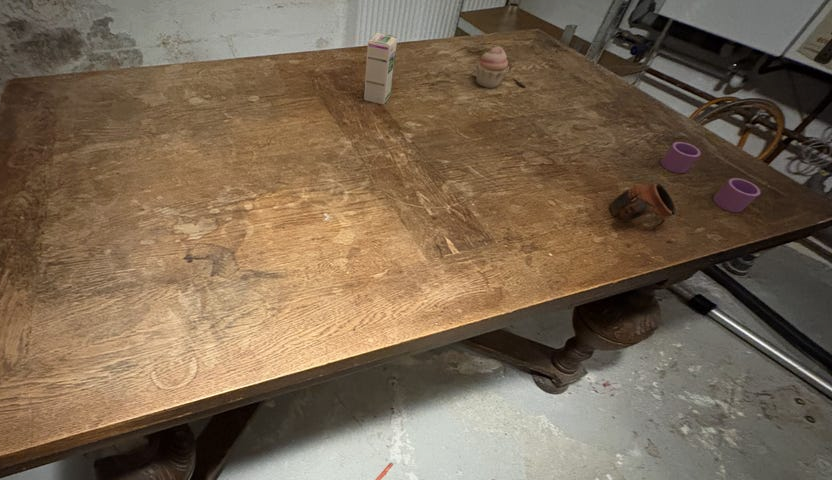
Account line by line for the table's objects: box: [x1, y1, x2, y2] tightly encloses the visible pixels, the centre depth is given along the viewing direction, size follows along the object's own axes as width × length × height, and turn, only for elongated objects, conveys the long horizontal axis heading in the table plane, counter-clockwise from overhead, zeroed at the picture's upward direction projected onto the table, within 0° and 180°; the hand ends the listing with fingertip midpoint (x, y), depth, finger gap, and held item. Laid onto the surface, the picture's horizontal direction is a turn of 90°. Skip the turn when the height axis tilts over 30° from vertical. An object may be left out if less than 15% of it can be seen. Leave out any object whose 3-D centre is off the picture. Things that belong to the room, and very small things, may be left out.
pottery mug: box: [610, 181, 677, 230], centre depth 81 cm, size 12×9×8 cm
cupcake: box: [475, 45, 510, 89], centre depth 113 cm, size 9×9×10 cm
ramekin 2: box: [712, 177, 762, 213], centre depth 86 cm, size 6×6×4 cm
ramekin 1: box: [659, 141, 702, 174], centre depth 94 cm, size 6×6×4 cm
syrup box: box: [363, 32, 398, 106], centre depth 102 cm, size 6×6×14 cm
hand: (830, 58), depth 74 cm, fingers open, 8 cm apart
